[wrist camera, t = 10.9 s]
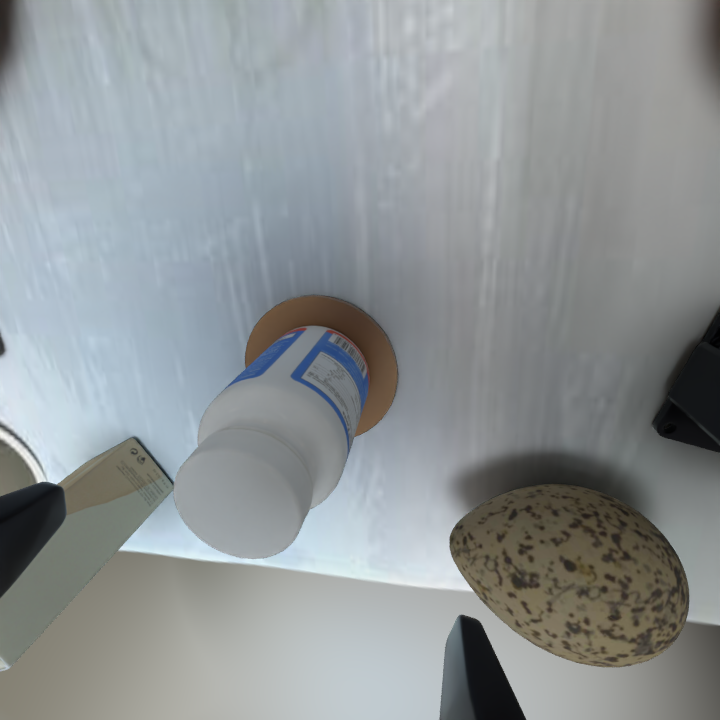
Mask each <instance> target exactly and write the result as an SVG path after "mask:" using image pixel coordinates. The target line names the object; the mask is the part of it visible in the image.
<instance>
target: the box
mask: <svg viewBox="0 0 720 720" xmlns="http://www.w3.org/2000/svg"><path fill="white" fill-rule="evenodd" d="M57 485H59V486H61V487H62V488H63V489H64V492H65V501H66V509H67V515H66V518H65V520H64V522H63V524H62V525H61V526H60V528H59V529H58V530H57V531H56V533H55V534H54V535H53V536H52V537H51V539H50V540H49V541H48V542H47V544H46V545H45V546H44V547H43V549H42V550H41V551H40V552H39V553H38V555H37V556H36V557H35V558H34V560H33V561H32V562H31V563H30V564H29V566H28V567H27V568H26V569H25V571H24V572H23V573H22V574H21V575H20V577H19V578H18V579H17V580H16V581H15V583H14V584H13V585H12V586H11V587H10V588H9V589H8V591H7V592H6V593H5V594H4V595H3V596H2V597H1V598H0V671H3V670H7V669H9V668H10V667H11V666H13V664H14V663H15V662H16V661H17V660H18V659H19V658H20V657H21V656H22V654H23V653H24V652H25V651H26V650H27V649H28V648H29V647H30V646H31V645H32V644H33V642H34V641H35V640H36V639H37V638H38V637H39V636H40V635H41V634H42V633H43V632H44V630H45V629H46V628H47V627H48V626H49V625H50V624H51V623H52V622H53V621H54V620H55V619H56V618H57V616H58V615H59V614H60V613H61V612H62V611H63V610H64V609H65V608H66V607H67V606H68V604H69V603H70V602H71V601H72V600H73V599H74V598H75V597H76V596H77V595H78V593H79V592H80V591H81V590H82V589H83V588H84V587H85V586H86V585H87V584H88V583H89V581H90V580H91V579H92V578H93V577H94V576H95V575H96V574H97V573H98V571H99V570H100V569H101V568H102V567H103V566H104V565H105V564H106V563H107V561H109V559H110V558H111V557H112V556H113V555H114V554H115V553H116V552H117V551H118V550H119V549H120V547H121V546H122V545H123V544H124V543H125V542H126V541H127V540H128V539H129V538H130V536H131V535H132V534H133V533H134V532H135V531H136V530H137V529H138V528H139V526H140V525H141V524H142V523H143V522H144V521H145V520H146V519H147V518H148V516H149V515H150V514H151V513H152V512H153V511H154V510H155V509H156V508H157V507H158V505H159V504H160V503H161V502H162V501H163V500H164V499H165V498H166V497H167V496H168V495H169V493H170V492H171V491H172V490H173V489H174V486H173V485H172V483H171V482H170V481H169V480H168V478H167V477H166V476H165V475H164V473H163V472H162V471H161V469H160V468H159V467H158V466H157V465H156V463H155V462H154V461H153V460H152V459H151V457H150V456H149V455H148V454H147V453H146V452H145V450H144V449H143V448H142V447H141V446H140V444H139V443H138V442H137V441H136V440H135V439H134V438H130V439H128V440H126V441H125V442H123V443H121V444H119V445H117V446H115V447H113V448H111V449H110V450H108V451H106V452H104V453H102V454H100V455H98V456H97V457H95V458H93V459H91V460H90V461H88V462H86V463H85V464H83V465H82V466H81V467H79V468H78V469H77V470H75V471H74V472H73V473H71V474H70V475H69V476H68V477H66V478H65V479H64V480H62V481H61V482H60V483H58V484H57Z"/></svg>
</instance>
